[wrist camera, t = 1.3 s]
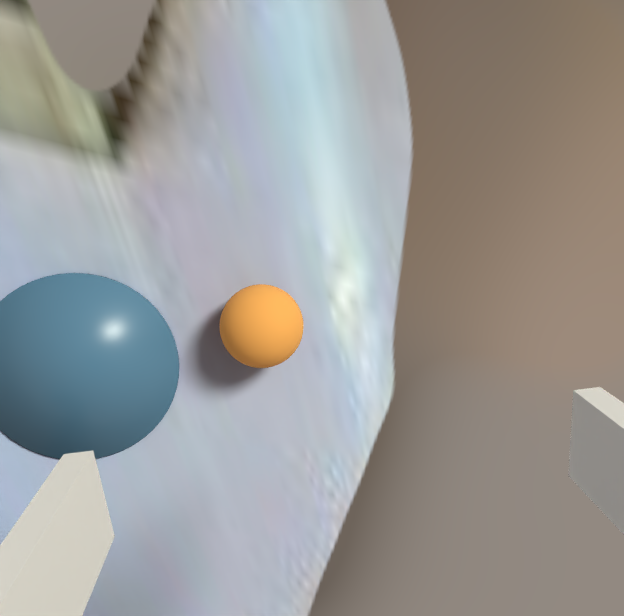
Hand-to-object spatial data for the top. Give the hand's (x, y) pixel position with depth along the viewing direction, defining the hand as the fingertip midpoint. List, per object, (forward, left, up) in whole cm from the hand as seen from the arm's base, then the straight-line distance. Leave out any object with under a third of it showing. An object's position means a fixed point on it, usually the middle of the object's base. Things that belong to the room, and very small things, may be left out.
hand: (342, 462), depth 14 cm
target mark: (-9, +9, -23) cm, 26 cm away
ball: (0, 0, -20) cm, 20 cm away
